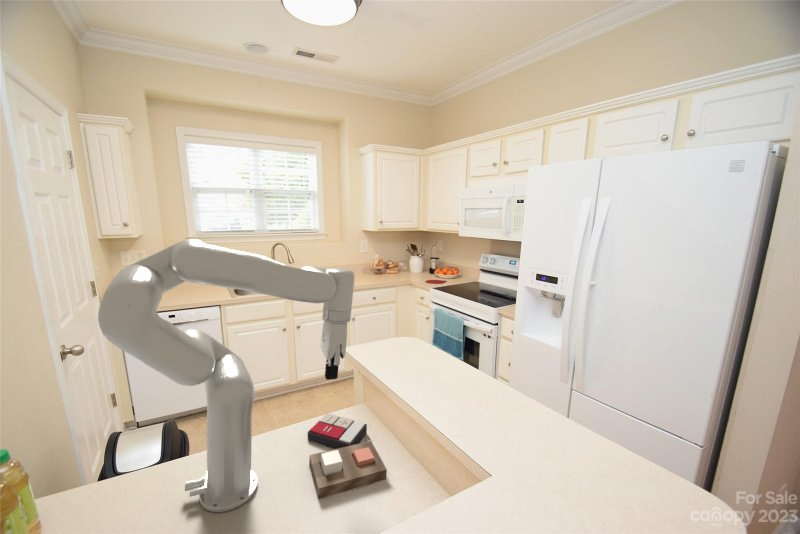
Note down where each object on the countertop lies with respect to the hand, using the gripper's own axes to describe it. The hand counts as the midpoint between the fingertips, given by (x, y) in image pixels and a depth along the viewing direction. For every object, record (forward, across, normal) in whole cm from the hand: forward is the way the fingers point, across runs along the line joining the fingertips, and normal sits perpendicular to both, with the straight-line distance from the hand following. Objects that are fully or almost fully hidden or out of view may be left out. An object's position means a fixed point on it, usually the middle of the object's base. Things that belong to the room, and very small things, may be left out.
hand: (331, 377), depth 92 cm
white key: (+22, +8, 0) cm, 24 cm away
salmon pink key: (+23, +8, +9) cm, 26 cm away
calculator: (+24, -7, +6) cm, 26 cm away
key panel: (+24, +8, +5) cm, 25 cm away
